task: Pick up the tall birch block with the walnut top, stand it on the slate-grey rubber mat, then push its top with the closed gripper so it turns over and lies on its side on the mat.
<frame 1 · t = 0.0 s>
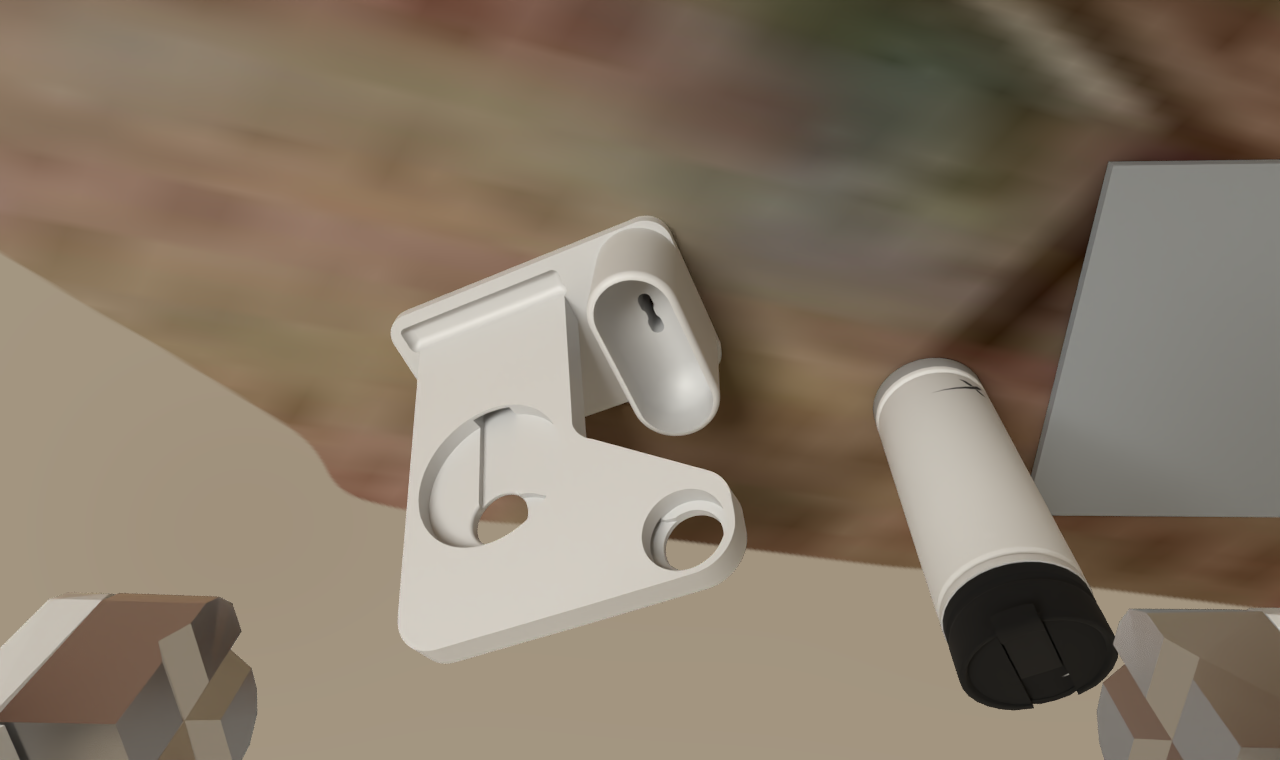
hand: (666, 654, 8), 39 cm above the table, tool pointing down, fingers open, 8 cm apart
grey mat: (1227, 354, 50), on the table
travel mug: (925, 398, 52), on the table
phone holder: (561, 338, 51), on the table
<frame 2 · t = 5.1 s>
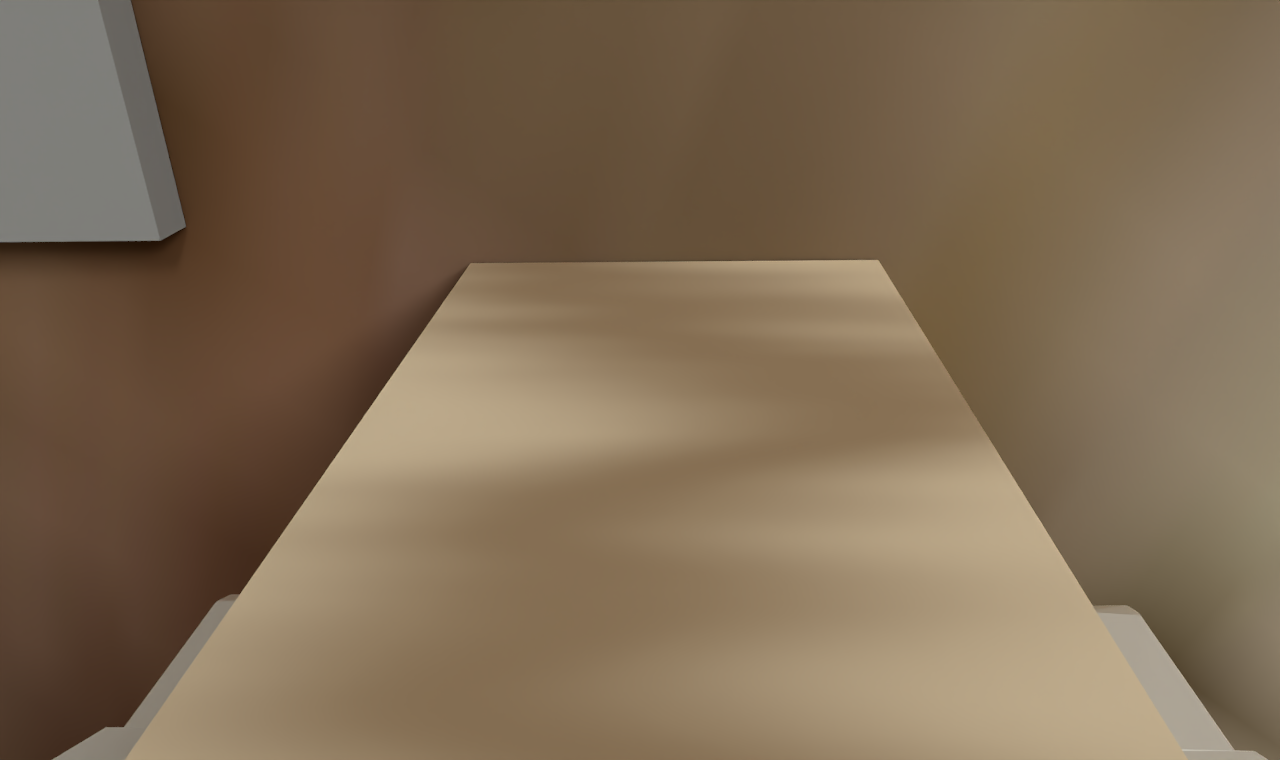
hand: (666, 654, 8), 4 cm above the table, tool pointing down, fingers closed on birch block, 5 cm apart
birch block: (673, 439, 12), on the table, touching gripper
when the fingers open (6 cm above the table, at t = 12.0 s): birch block stays where it is, resting on grey mat.
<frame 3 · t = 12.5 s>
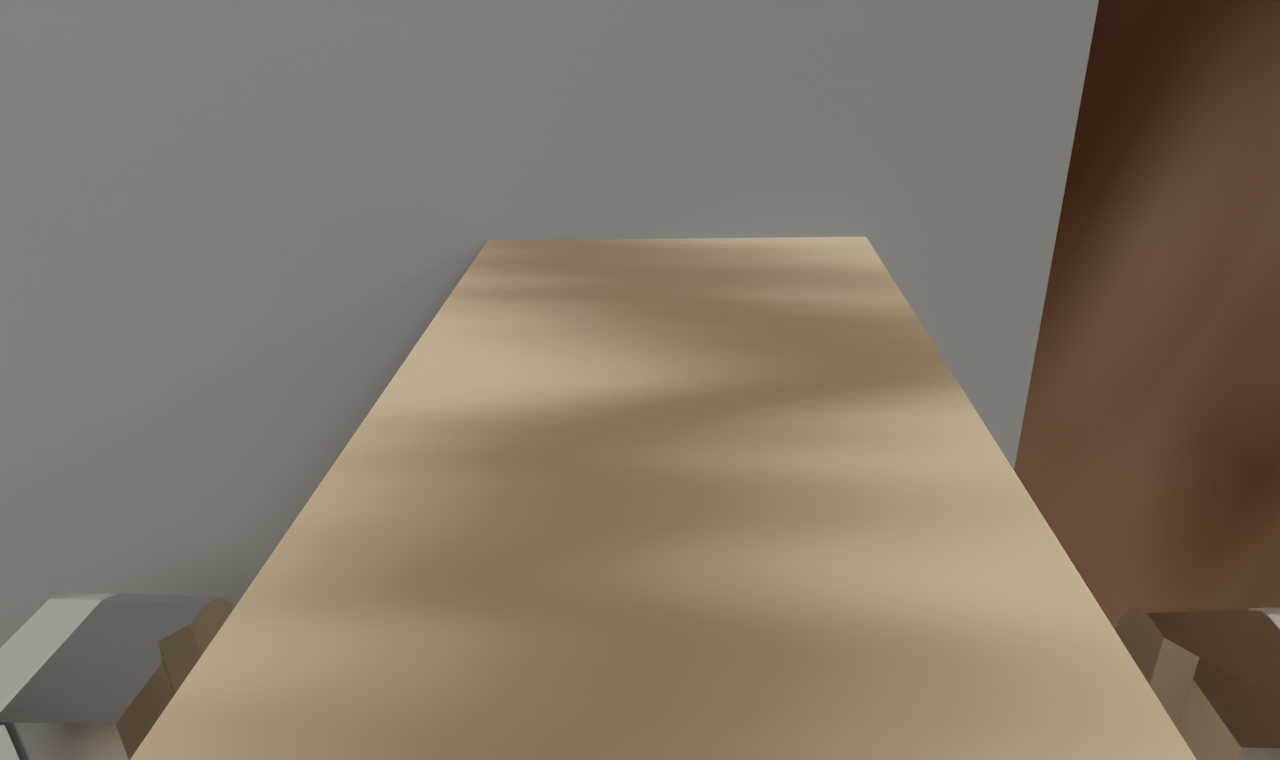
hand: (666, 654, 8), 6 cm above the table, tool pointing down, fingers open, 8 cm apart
grey mat: (281, 389, 14), on the table
birch block: (676, 406, 13), point 1 cm above the table, touching grey mat
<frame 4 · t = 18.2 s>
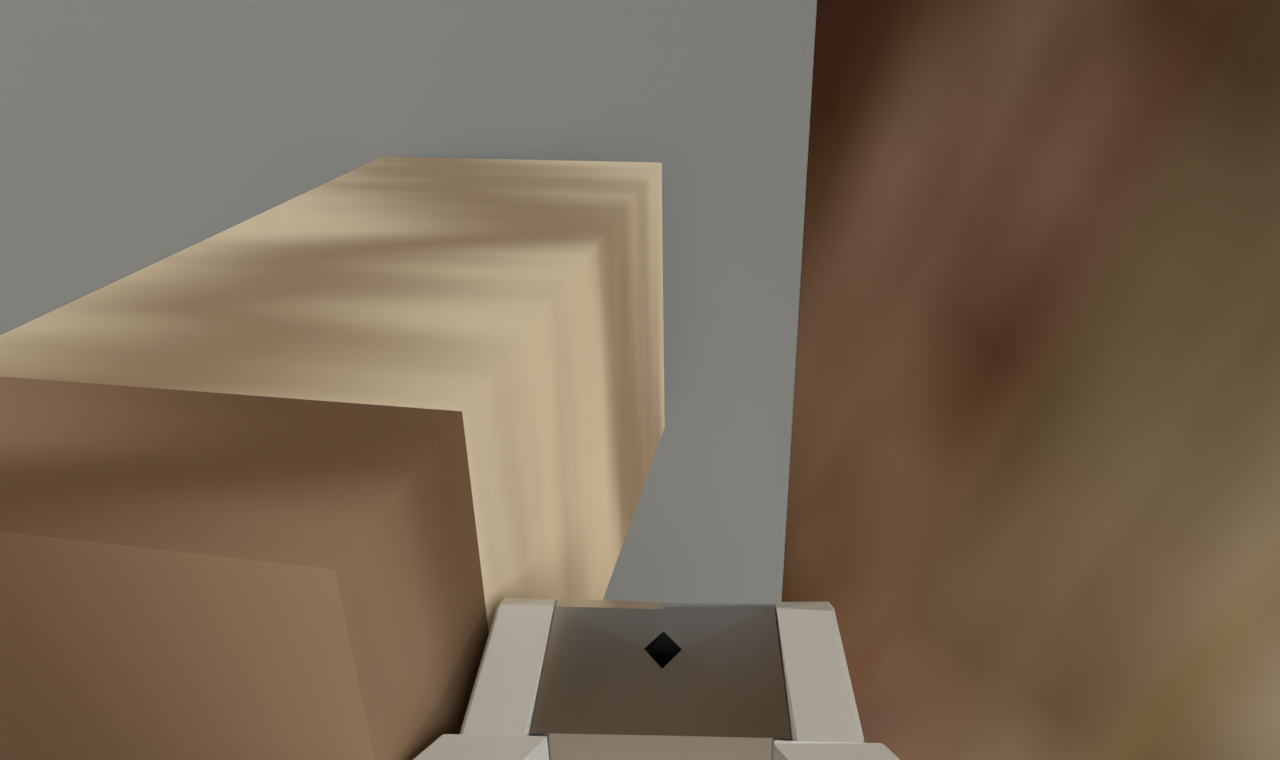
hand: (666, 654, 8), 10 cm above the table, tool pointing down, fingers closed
grey mat: (232, 281, 18), on the table
birch block: (528, 296, 16), point 1 cm above the table, tilted 8°, touching grey mat, gripper
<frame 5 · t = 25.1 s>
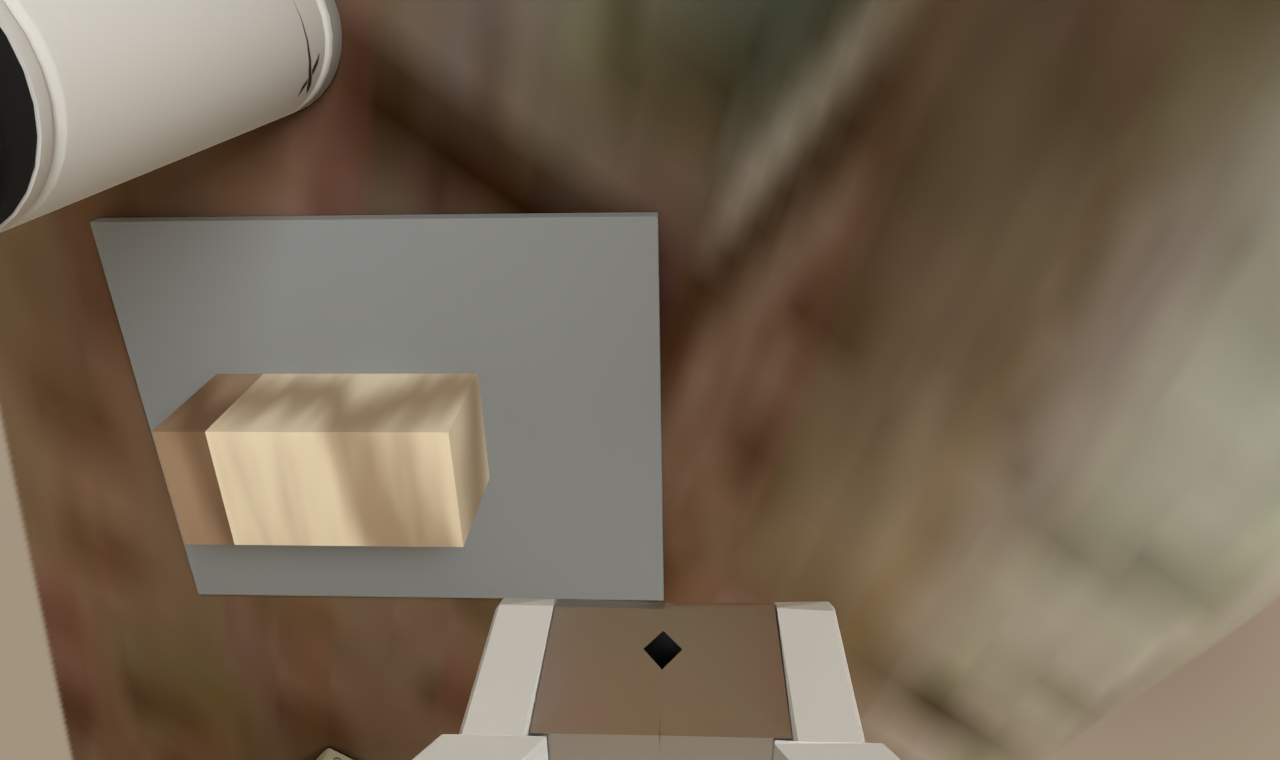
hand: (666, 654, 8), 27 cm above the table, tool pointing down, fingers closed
grey mat: (405, 420, 39), on the table
birch block: (470, 457, 36), point 3 cm above the table, tilted 90°, touching grey mat
travel mug: (263, 22, 32), on the table
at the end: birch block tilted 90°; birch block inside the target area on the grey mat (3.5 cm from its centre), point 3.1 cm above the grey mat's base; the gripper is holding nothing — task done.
